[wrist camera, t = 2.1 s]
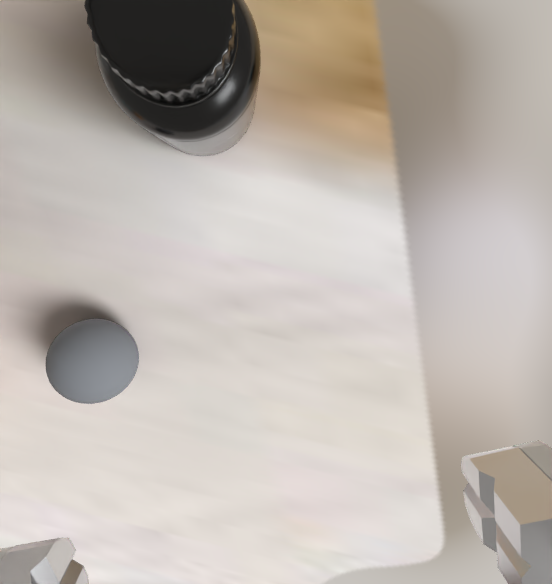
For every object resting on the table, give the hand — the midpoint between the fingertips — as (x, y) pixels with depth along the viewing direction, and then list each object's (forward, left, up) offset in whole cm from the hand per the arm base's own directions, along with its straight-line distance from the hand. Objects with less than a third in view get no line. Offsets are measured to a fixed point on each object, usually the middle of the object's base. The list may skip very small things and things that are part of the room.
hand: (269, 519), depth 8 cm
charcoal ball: (-10, -5, -17) cm, 21 cm away
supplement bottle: (-4, +12, -20) cm, 24 cm away
